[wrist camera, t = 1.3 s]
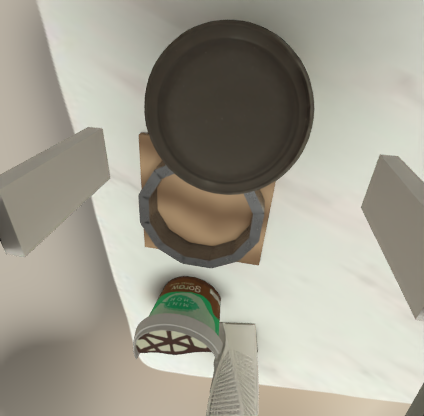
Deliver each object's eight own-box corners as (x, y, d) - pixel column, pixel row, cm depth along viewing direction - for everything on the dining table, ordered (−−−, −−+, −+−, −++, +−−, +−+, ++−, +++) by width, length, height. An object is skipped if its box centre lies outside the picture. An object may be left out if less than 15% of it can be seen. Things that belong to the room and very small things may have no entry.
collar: (145, 142, 34) (135, 151, 31) (272, 158, 32) (272, 168, 30) (150, 243, 41) (142, 256, 38) (253, 259, 40) (252, 275, 37)
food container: (220, 266, 42) (208, 325, 34) (230, 297, 45) (221, 359, 36) (143, 273, 45) (114, 328, 37) (156, 302, 48) (132, 359, 40)
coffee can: (221, 152, 34) (194, 215, 22) (174, 63, 30) (110, 80, 18) (310, 110, 30) (338, 159, 18) (270, 2, 26) (271, -27, 14)
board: (141, 132, 34) (138, 134, 33) (281, 149, 32) (281, 152, 32) (146, 243, 42) (144, 246, 42) (258, 261, 41) (258, 265, 40)
